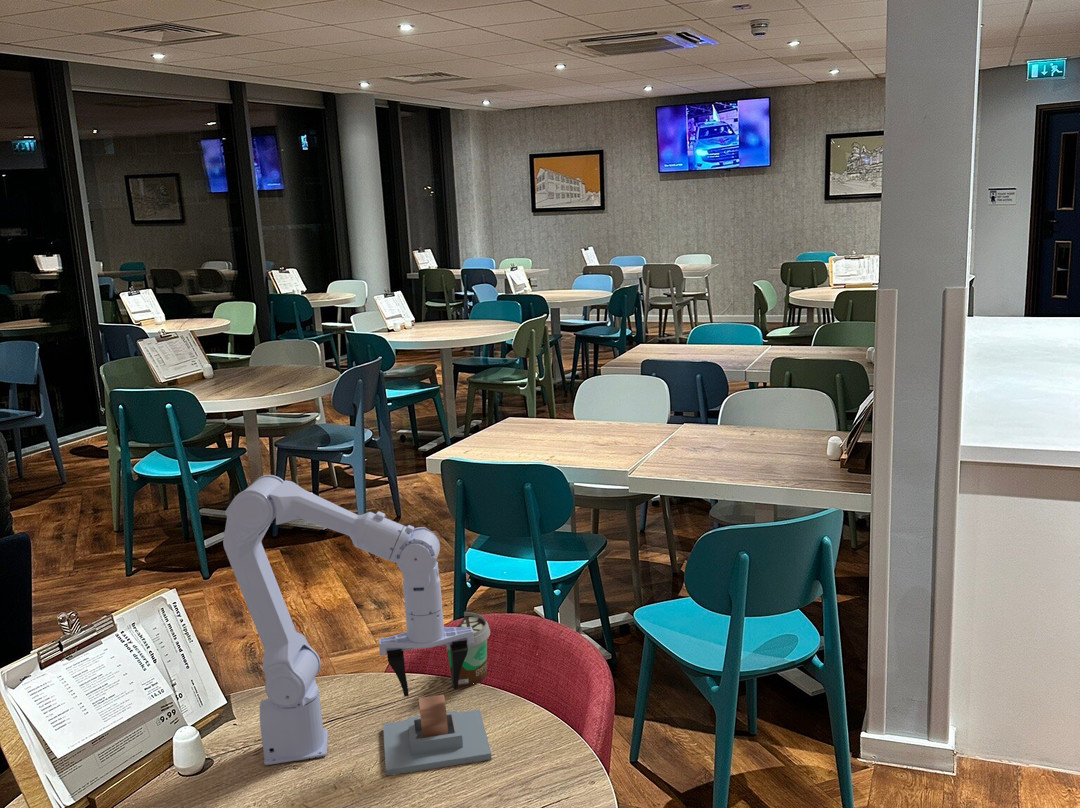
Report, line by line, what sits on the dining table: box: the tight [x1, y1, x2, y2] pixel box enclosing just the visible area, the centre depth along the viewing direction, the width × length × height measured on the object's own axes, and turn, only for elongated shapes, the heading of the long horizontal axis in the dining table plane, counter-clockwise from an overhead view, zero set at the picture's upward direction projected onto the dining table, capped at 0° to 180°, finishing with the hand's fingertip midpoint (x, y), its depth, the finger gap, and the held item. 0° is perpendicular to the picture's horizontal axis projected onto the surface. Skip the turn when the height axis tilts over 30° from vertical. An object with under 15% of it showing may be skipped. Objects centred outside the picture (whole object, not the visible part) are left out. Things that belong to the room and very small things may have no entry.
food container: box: [445, 611, 491, 689], centre depth 172 cm, size 12×6×10 cm, turn 168°
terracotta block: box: [418, 694, 448, 738], centre depth 151 cm, size 4×4×6 cm
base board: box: [382, 709, 493, 776], centre depth 151 cm, size 16×14×3 cm
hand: (430, 690), depth 150 cm, fingers open, 7 cm apart
